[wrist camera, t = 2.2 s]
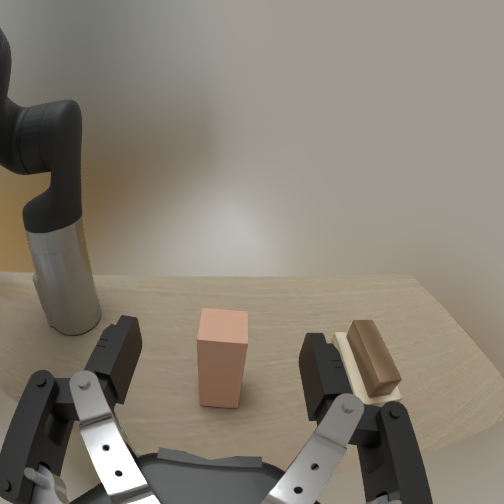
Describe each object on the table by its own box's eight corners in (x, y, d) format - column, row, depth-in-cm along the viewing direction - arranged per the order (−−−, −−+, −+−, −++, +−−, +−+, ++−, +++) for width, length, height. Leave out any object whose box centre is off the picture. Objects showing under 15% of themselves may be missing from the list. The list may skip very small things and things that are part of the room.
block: (200, 405, 28) (196, 339, 23) (203, 377, 32) (202, 307, 27) (237, 408, 29) (247, 343, 23) (238, 379, 33) (247, 311, 27)
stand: (354, 411, 29) (369, 390, 26) (331, 339, 41) (341, 315, 39) (397, 404, 29) (414, 383, 27) (368, 338, 42) (379, 315, 39)
